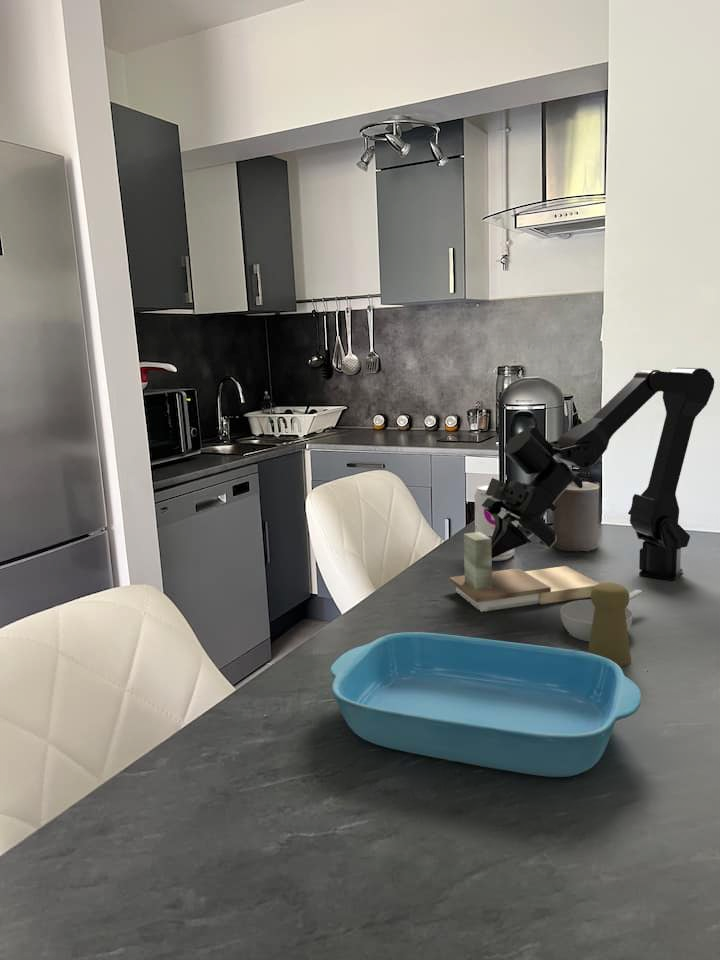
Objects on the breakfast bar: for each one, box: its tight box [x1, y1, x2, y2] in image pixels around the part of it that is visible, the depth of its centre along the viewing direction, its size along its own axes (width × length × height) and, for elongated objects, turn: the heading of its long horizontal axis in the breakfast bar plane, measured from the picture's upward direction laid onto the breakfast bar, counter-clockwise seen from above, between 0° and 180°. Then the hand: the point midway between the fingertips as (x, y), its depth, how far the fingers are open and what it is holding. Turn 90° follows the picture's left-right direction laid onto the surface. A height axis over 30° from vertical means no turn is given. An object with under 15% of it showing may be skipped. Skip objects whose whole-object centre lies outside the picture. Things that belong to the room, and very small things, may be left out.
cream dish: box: [455, 586, 539, 613], centre depth 134 cm, size 11×11×2 cm
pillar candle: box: [551, 481, 600, 552], centre depth 162 cm, size 10×10×15 cm
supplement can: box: [474, 483, 515, 562], centre depth 158 cm, size 8×8×15 cm
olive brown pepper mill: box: [587, 582, 632, 668], centre depth 106 cm, size 6×6×11 cm
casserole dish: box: [329, 631, 642, 778], centre depth 90 cm, size 37×22×7 cm, turn 66°
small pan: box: [560, 589, 643, 642], centre depth 119 cm, size 11×18×4 cm, turn 129°
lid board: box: [449, 531, 551, 602], centre depth 133 cm, size 14×12×10 cm
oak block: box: [523, 565, 600, 605], centre depth 137 cm, size 12×12×2 cm
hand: (486, 557), depth 132 cm, fingers closed
